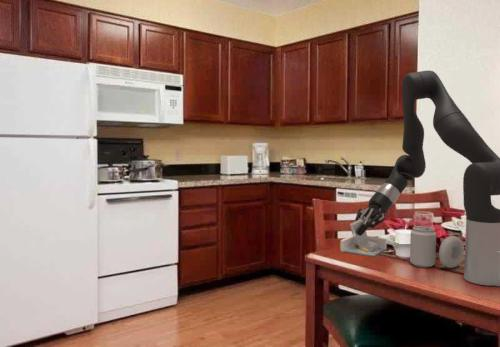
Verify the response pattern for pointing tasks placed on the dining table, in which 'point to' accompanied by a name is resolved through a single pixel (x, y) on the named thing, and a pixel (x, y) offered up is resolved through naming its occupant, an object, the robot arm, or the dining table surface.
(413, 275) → the dining table surface
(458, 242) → the donut
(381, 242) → the walls
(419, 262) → the can
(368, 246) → the bracket
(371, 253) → the base plate
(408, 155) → the robot arm
